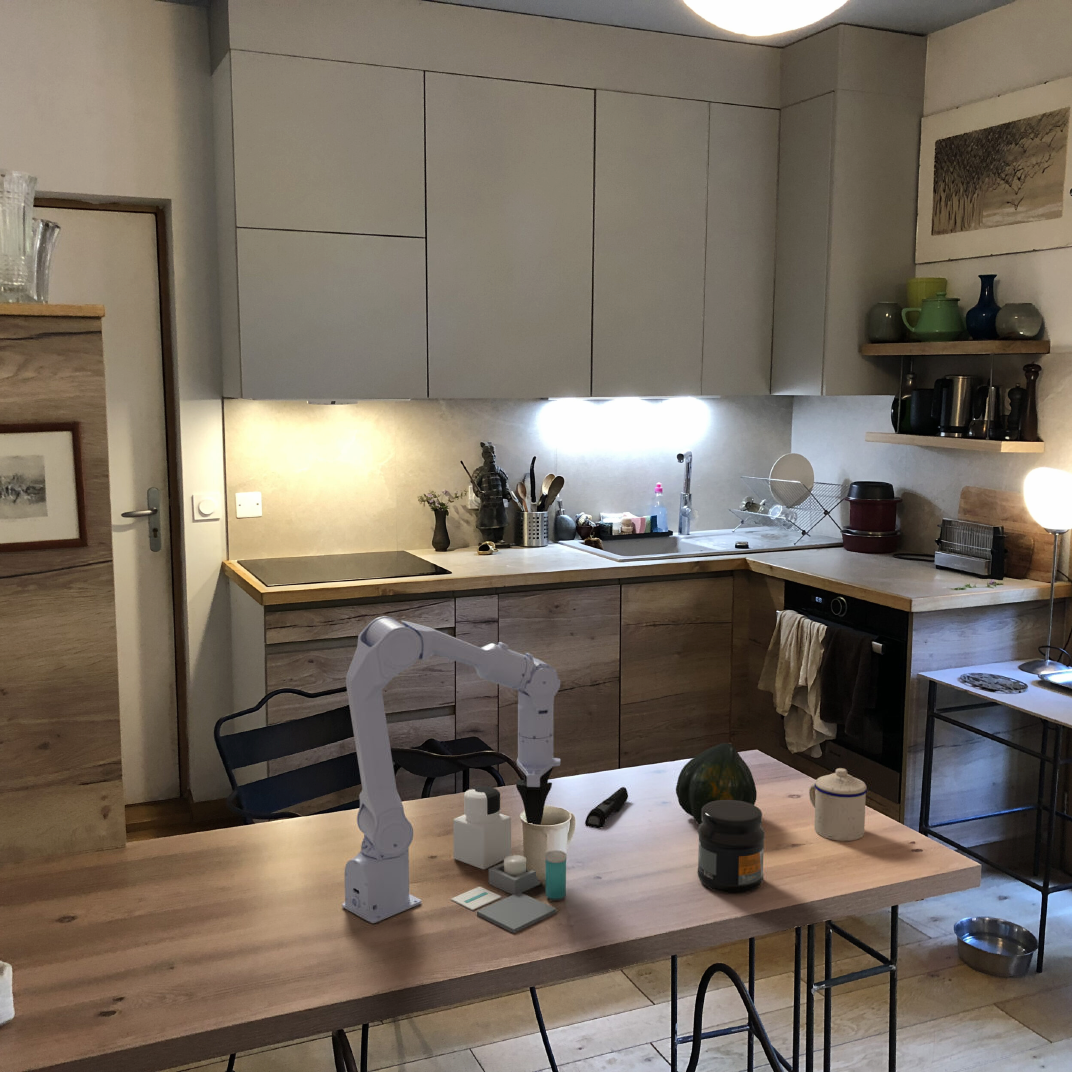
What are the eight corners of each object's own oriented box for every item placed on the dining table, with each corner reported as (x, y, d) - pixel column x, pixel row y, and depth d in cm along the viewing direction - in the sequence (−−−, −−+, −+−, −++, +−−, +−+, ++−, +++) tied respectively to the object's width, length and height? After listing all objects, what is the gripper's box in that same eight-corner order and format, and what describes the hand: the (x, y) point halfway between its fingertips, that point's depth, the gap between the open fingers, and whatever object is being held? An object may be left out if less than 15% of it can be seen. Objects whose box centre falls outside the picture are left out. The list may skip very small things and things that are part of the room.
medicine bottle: (481, 845, 188) (480, 779, 186) (512, 856, 183) (512, 788, 182) (452, 859, 182) (452, 790, 181) (484, 870, 178) (483, 800, 176)
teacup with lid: (876, 836, 192) (879, 773, 191) (838, 846, 188) (841, 781, 186) (827, 813, 202) (830, 753, 201) (791, 822, 198) (793, 761, 197)
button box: (514, 895, 169) (514, 880, 168) (488, 883, 173) (488, 868, 173) (541, 883, 173) (541, 868, 173) (515, 872, 177) (515, 857, 177)
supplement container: (777, 886, 172) (779, 814, 171) (726, 902, 167) (728, 827, 165) (733, 862, 181) (734, 793, 180) (683, 876, 176) (685, 805, 174)
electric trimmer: (633, 803, 209) (633, 787, 209) (602, 830, 195) (602, 813, 195) (615, 800, 211) (615, 784, 210) (583, 827, 197) (583, 810, 196)
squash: (658, 800, 194) (715, 743, 191) (666, 776, 209) (720, 722, 206) (716, 857, 193) (775, 800, 189) (720, 828, 207) (775, 775, 204)
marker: (556, 904, 166) (556, 861, 165) (540, 897, 168) (540, 854, 167) (570, 897, 168) (570, 854, 167) (555, 891, 170) (555, 848, 169)
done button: (514, 882, 170) (515, 866, 170) (499, 875, 173) (499, 859, 172) (531, 875, 173) (531, 859, 172) (515, 868, 175) (515, 853, 175)
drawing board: (513, 933, 157) (513, 929, 157) (476, 914, 162) (476, 911, 162) (556, 912, 163) (556, 908, 163) (519, 895, 169) (519, 891, 169)
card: (472, 910, 164) (472, 908, 164) (450, 899, 167) (450, 898, 167) (501, 897, 168) (501, 896, 168) (479, 887, 171) (479, 886, 171)
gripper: (559, 748, 166) (558, 832, 168) (561, 720, 181) (561, 798, 182) (513, 747, 167) (513, 831, 168) (519, 719, 181) (519, 797, 183)
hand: (535, 814), depth 175 cm, fingers open, 7 cm apart
